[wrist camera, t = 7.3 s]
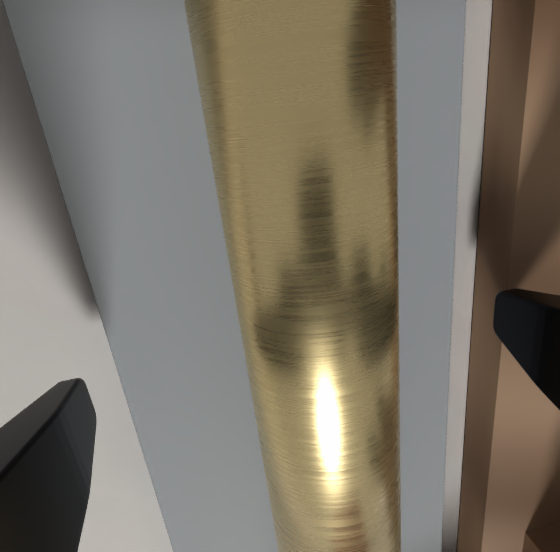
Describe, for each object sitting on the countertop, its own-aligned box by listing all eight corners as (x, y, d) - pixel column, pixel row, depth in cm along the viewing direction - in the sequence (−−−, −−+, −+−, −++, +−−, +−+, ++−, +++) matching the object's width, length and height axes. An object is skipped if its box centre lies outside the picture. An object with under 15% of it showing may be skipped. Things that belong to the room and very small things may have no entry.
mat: (465, -544, 6) (493, -609, 6) (429, 603, 16) (437, 621, 16) (-170, -607, 5) (-214, -696, 4) (216, 670, 15) (217, 692, 14)
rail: (67, -545, 5) (21, -1293, 2) (306, -480, 6) (472, -976, 3) (289, 659, 14) (329, 782, 12) (368, 617, 15) (424, 724, 12)
